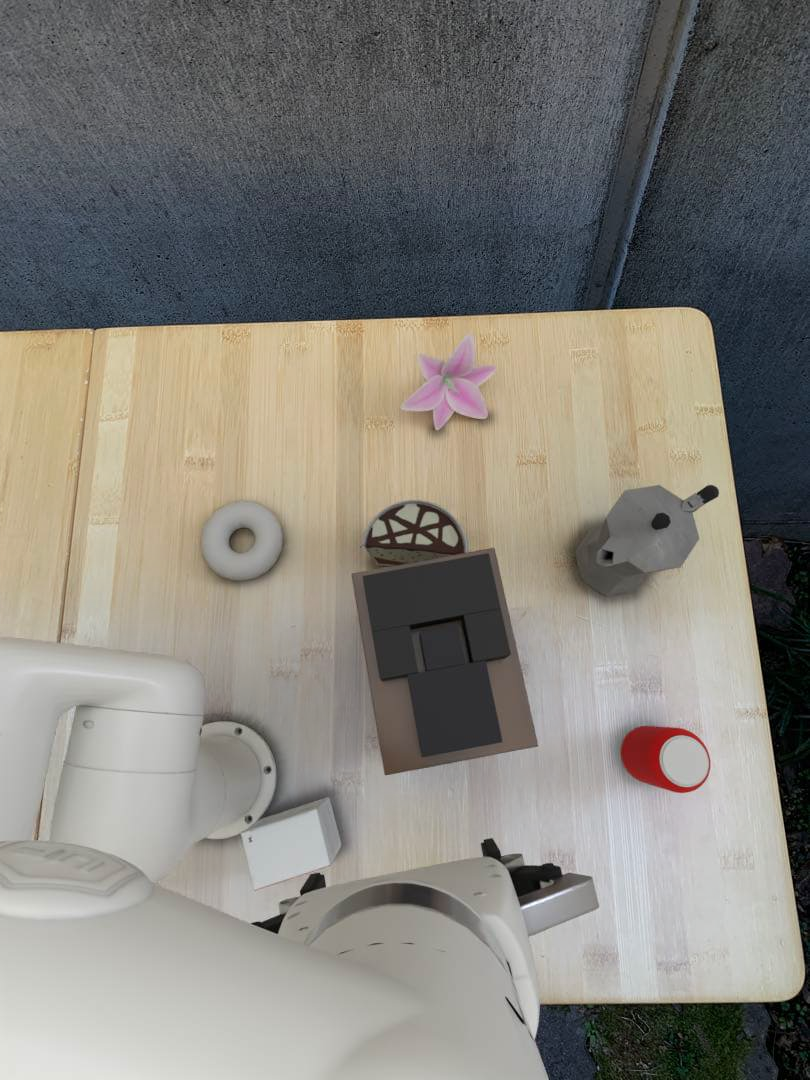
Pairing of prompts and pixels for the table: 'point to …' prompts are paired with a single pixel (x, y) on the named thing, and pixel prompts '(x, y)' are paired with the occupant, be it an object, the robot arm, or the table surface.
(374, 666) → the walnut stand
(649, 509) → the coffeepot
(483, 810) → the table surface
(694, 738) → the beverage can
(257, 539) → the donut
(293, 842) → the small box
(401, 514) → the chocolate cake
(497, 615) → the black pad
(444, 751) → the charcoal pad
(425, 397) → the lily
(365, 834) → the table surface
